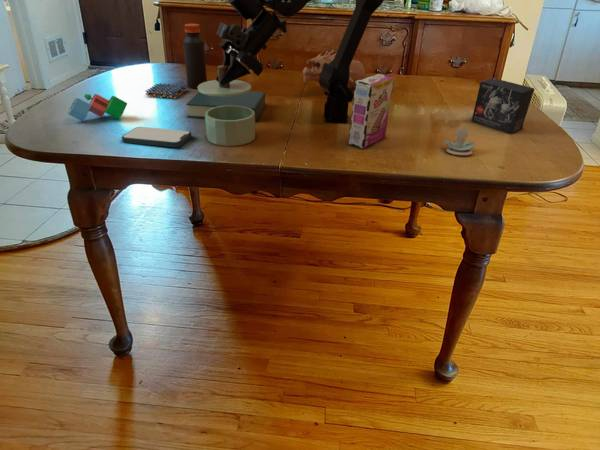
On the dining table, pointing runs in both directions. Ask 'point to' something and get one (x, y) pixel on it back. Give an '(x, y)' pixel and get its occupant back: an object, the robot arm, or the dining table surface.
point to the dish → (230, 125)
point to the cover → (224, 86)
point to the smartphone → (157, 136)
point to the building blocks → (97, 107)
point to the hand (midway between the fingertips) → (219, 82)
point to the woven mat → (166, 90)
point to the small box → (502, 105)
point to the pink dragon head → (318, 62)
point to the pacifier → (460, 143)
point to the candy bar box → (370, 110)
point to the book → (225, 103)
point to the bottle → (194, 56)
